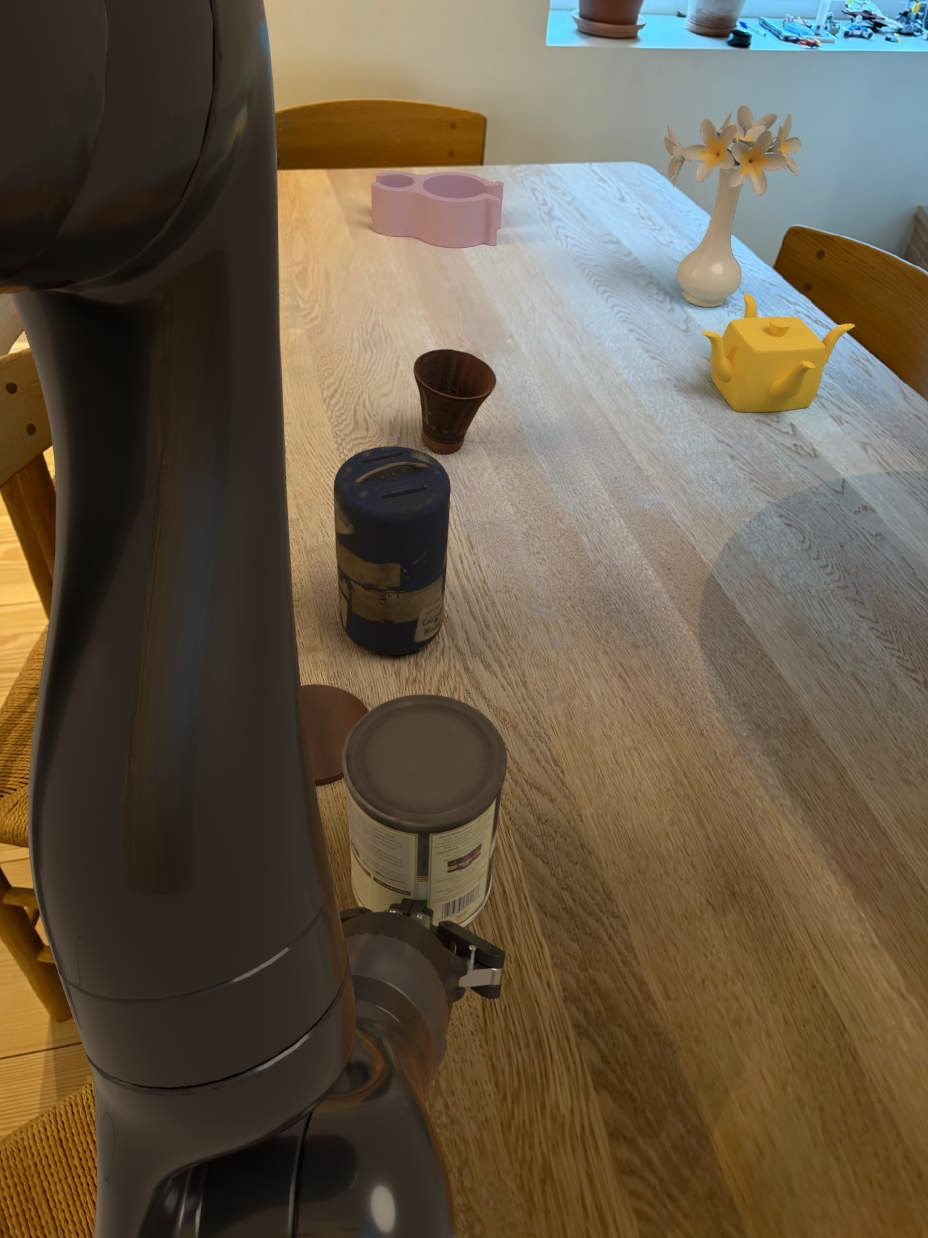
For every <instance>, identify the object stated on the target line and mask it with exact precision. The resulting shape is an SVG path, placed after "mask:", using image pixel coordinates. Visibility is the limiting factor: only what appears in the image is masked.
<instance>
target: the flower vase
mask: <svg viewBox="0 0 928 1238" xmlns="http://www.w3.org/2000/svg"><path fill="white" fill-rule="evenodd" d="M732 114H733V110H731V111H730V112H729V114H728V115H727V117H726V118H725V120H724V122H723V123H722V125H721V127H719V129H718V130H717V129H716V126H715V124H714V123H713V122H712V120H711V119H709V118H705V119H703V120H702V122H701V123H700V126H699V127H700V128H699V133H700V138H701V141H702V143H703V144H702V143H701V144H700V143H696V144H691V145H688V146H686V147H684V145H683V144H682V143H681V141H679V139H678V138H677V137H676V135H675V134H674V132H673V130H672V128H671V127H670V125H669V124H668V123H667V124H666V128H667V132H668V136H664V139H663V142H664V146H665V149H666V151H667V153H668V154H669V155H670V156H673V157H672V158H671V159H670V160H669V162H668V167H667V178H668V180H670V179H671V178H673V179H672V187H673V188H675V185H676V183H677V180H678V177H679V174H680V172H681V169H682V167H683V165H684V162H685V161H688V162H690V163H691V162H701V163H700V164H698V166H697V169H696V173H695V180H696V182H697V183H703V182H704V181H706V180H707V179H708V178H709V176H710V175H711V173H712V171H713V170H714V168H715V167H716V166H717V167H718V181H717V182H718V184H717V191H716V196H715V200H714V203H713V208H712V212H711V216H710V218H709V222H708V226H707V229H706V231H705V233H704V235H703V237H702V240H701V241H700V242H699V244H698V245H697V247H696V248H694V249H693V250H692V251H691V252H689V253H688V254H686V255H685V256H684V257H683V258H682V260H681V261H680V262H679V264H678V266H677V267H676V270H675V271H676V272H675V278H676V281H677V283H678V286H679V287H680V289H681V290H682V296H683V298H684V300H685V301H687V303H690V304H691V305H694V306H698V307H702V308H715V307H716V308H717V307H719V306H721V305H723V304H724V303H725V302H726V300H727V299H728V298H729V297H730V296H732V295H734V294H735V293H736V292H737V291H738V289H739V288H740V286H741V285H742V281H743V274H742V267H741V265H740V263H739V261H738V260H737V259H736V257H735V255H734V253H733V247H732V232H733V225H734V221H735V215H736V210H737V206H738V201H739V197H740V195H741V191H742V188H743V186H744V183H745V182H746V181H747V180H748V179H749V183H750V186H751V188H752V190H753V192H754V194H756V195H758V196H763V195H765V194H766V192H767V190H768V177H767V175H766V172H775V171H778V170H781V169H784V170H785V171H786V170H787V169H789V171H790V172H791V173H792V174H793V176H795V177H799V170H798V165H797V163H796V160H795V159H794V158H793V157H792V155H795V154H797V153H798V152H799V151H800V150H801V149H802V148H801V147H802V141H801V139H800V138H799V137H798V136H790V133H791V130H792V115H791V113H788V114H787V115H786V117H785V120H784V122H783V125H778V126H779V127H778V130H777V135H773V134H772V131H771V130H769V129H771V127H773V125H774V124H775V123H776V122H777V120H778V119H777V118H778V115H777V114H776V113H774V112H771V113H767V114H764V115H763V116H761V117H759V118H758V119H757V120H756V121H755V119H754V115H753V112H752V109H751V108H750V107H749V106H748V105H746V104H742V105H740V106H739V107H738V108H737V111H736V119H737V123H736V122H732V121H731V118H732ZM754 121H755V122H754ZM789 136H790V137H789ZM774 140H775V141H774ZM732 143H733V144H732ZM731 144H732V145H731ZM730 145H731V146H730ZM729 146H730V149H729ZM765 171H766V172H765Z"/></svg>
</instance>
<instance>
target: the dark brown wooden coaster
mask: <svg viewBox="0 0 928 1238" xmlns="http://www.w3.org/2000/svg"><path fill="white" fill-rule="evenodd" d="M301 690H302V700H303V708H304V716H305V724H306V732H307V740H308V747H309V752H310V758H311V764H312V770H313V775H314V781H315V787H317V786H325V785H328V784H331V783H335V782H337V781H339V780H342V779H344V775H343V769H342V752H343V748H344V744H345V741H346V739H347V736H348V734H349V733H350V731H351V729H352V728H353V726H354V725H355V724H356V723H357V722H358V721H359V719H361V718H362V717H363V716H364V715H365V714H366V713H367V712H369V711H370V710H368V707H367V706H366V705H365V703H363V702H362V701H361V700H360V699H359V698H358V697H357V696H355V695H354V694H352V693H351V692H349V691H347V690H346V689H342V688H340V687H337V686H333V685H329V684H328V685H327V684H320V683H319V684H318V683H317V684H316V683H314V684H311V683H310V684H303V685H302V684H301Z"/></svg>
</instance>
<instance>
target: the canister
mask: <svg viewBox="0 0 928 1238" xmlns="http://www.w3.org/2000/svg"><path fill="white" fill-rule="evenodd" d="M451 486H452V485H451V479H450V477H449V473H448V472H447V470H446V468H445V467H444V465H443V464H442V463H441V462H439V461H438V460H437V459H436V458H435V457H433V456H431V454H428V453H426V452H424V451H422V450H418V449H415V448H411V447H407V446H400V445H398V446H397V445H389V446H376V447H372V448H368V449H365V450H361V451H360V452H357V453H356V454H353V455H352V456H350V457H349V458H348V459H346V460H345V461H344V462H343V463H342V464H341V466H340V467H339V469H338V470H337V472H336V473H335V477H334V481H333V510H334V511H333V517H334V534H335V536H334V537H335V542H334V543H335V556H336V570H337V588H338V589H337V590H338V591H337V592H338V609H339V610H338V611H339V620H340V625H341V627H342V630H343V631H344V633H345V634H346V636H347V637H348V638H349V640H351V641H352V642H353V643H354V644H356V645H357V646H359V647H360V648H362V649H364V650H366V651H369V652H372V653H375V654H379V655H387V656H388V655H389V656H396V655H397V656H399V655H406V654H410V653H413V652H416V651H418V650H421V649H423V648H425V647H426V646H427V645H428V644H430V643H432V641H433V640H434V639H435V638H436V637H437V636H438V635H439V632H440V631H441V628H442V626H443V622H444V615H445V614H444V613H445V612H444V611H445V610H444V603H445V592H446V579H447V567H448V546H449V545H448V544H449V527H450V509H451V493H452V487H451Z"/></svg>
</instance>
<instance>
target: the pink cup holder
mask: <svg viewBox="0 0 928 1238" xmlns="http://www.w3.org/2000/svg"><path fill="white" fill-rule="evenodd" d="M504 184H505V183H504V182H502V181H499V180H497V181H490V180H488V179H486V178H485V177H482V176H479V175H476V174H472V173H467V172H459V171H440V172H431V173H426V174H425V173H424V174H417V173H411V172H407V171H402V170H401V171H400V170H389V171H382V172H378V173H375V181H372V182H371V183H370V192H371V194H370V196H371V199H370V200H371V201H370V202H371V229H372V231H374V232H375V233H376V234H377V233H378V234H380V235H384V236H389V237H409V238H416V239H418V240H421V241H422V242H424V243H426V244H429V245H432V246H438V247H442V248H453V249H462V248H470V247H475V246H476V247H477V246H479V245H482V244H485V245H488V246H490V247H495V246H496V245H497V243H498V242H497V241H498V240H497V239H498V230H500V229H501V226H502V225H501V223H502V211H503V210H502V209H503V197H504Z"/></svg>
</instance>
